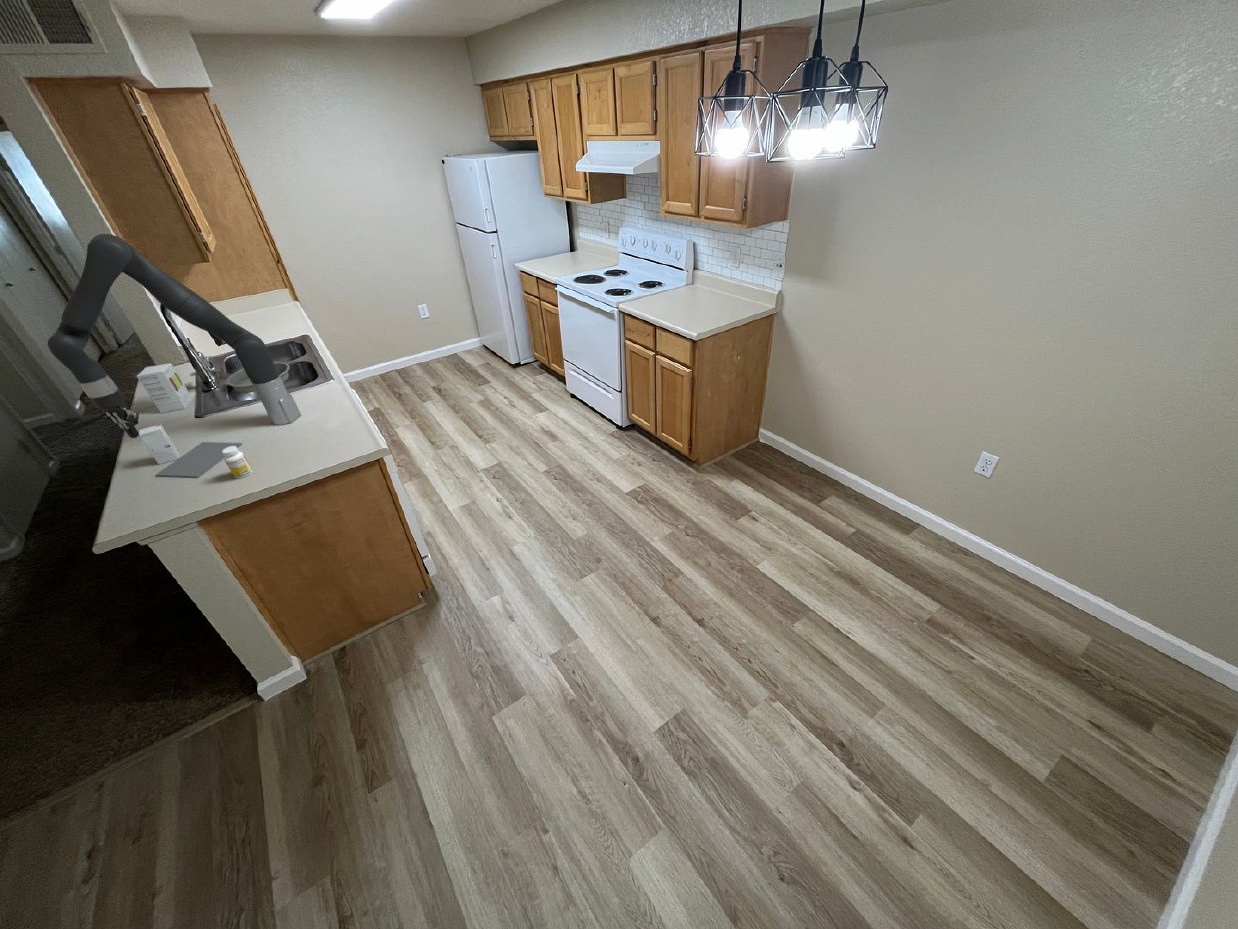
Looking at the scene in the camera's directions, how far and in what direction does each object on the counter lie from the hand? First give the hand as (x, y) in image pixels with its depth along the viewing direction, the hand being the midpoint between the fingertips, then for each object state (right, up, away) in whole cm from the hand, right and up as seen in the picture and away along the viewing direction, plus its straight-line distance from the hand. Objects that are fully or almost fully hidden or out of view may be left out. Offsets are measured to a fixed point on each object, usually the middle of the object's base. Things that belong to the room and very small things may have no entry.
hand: (135, 436), depth 174 cm
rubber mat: (+21, -8, +2) cm, 22 cm away
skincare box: (+8, -8, +4) cm, 12 cm away
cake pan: (+6, +27, +54) cm, 61 cm away
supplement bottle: (+42, -13, -6) cm, 44 cm away
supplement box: (-19, +15, +38) cm, 45 cm away
